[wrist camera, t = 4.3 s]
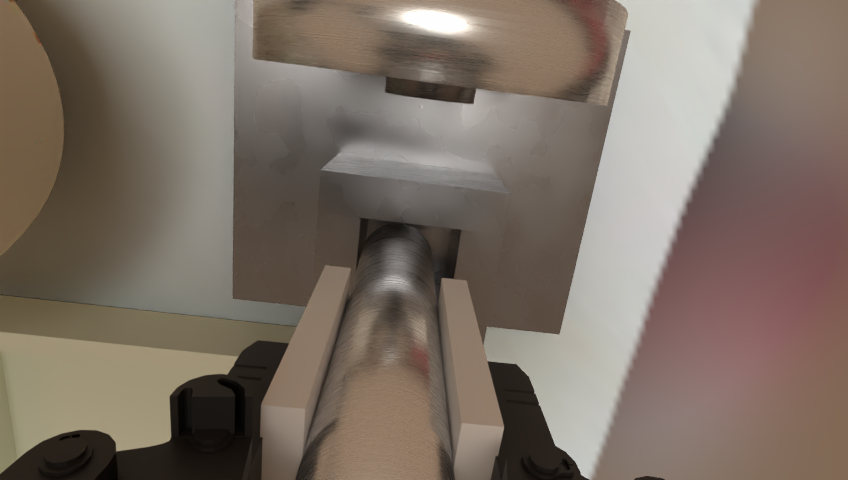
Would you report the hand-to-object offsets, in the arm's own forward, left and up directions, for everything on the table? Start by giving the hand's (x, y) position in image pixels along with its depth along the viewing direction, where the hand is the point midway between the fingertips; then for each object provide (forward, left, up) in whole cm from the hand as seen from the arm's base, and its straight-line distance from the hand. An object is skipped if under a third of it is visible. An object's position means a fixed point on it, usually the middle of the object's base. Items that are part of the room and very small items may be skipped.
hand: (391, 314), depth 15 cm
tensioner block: (0, +3, -10) cm, 10 cm away
